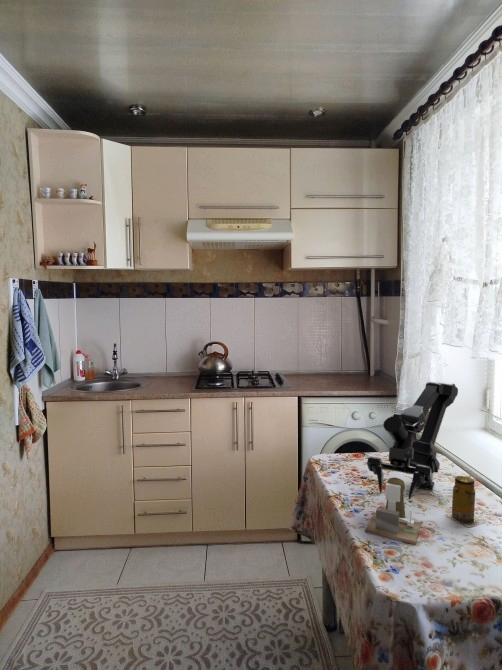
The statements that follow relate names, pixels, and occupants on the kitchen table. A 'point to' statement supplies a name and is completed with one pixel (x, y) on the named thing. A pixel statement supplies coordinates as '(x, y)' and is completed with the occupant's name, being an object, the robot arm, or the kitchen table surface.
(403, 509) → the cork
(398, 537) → the board
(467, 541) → the kitchen table surface
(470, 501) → the condiment
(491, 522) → the kitchen table surface
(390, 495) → the block
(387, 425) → the robot arm
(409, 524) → the pointer
